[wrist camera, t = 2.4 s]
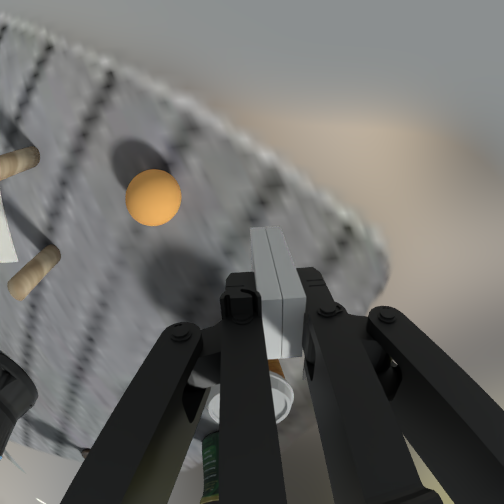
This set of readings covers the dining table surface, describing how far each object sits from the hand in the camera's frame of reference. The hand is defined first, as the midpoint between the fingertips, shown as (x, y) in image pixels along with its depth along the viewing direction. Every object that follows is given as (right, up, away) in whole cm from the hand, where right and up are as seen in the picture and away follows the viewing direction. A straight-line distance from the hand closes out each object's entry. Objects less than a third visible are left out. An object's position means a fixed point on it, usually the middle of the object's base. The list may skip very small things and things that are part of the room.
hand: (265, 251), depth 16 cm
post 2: (-26, 0, +17) cm, 31 cm away
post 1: (-27, +11, +11) cm, 31 cm away
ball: (-10, +5, +12) cm, 17 cm away
